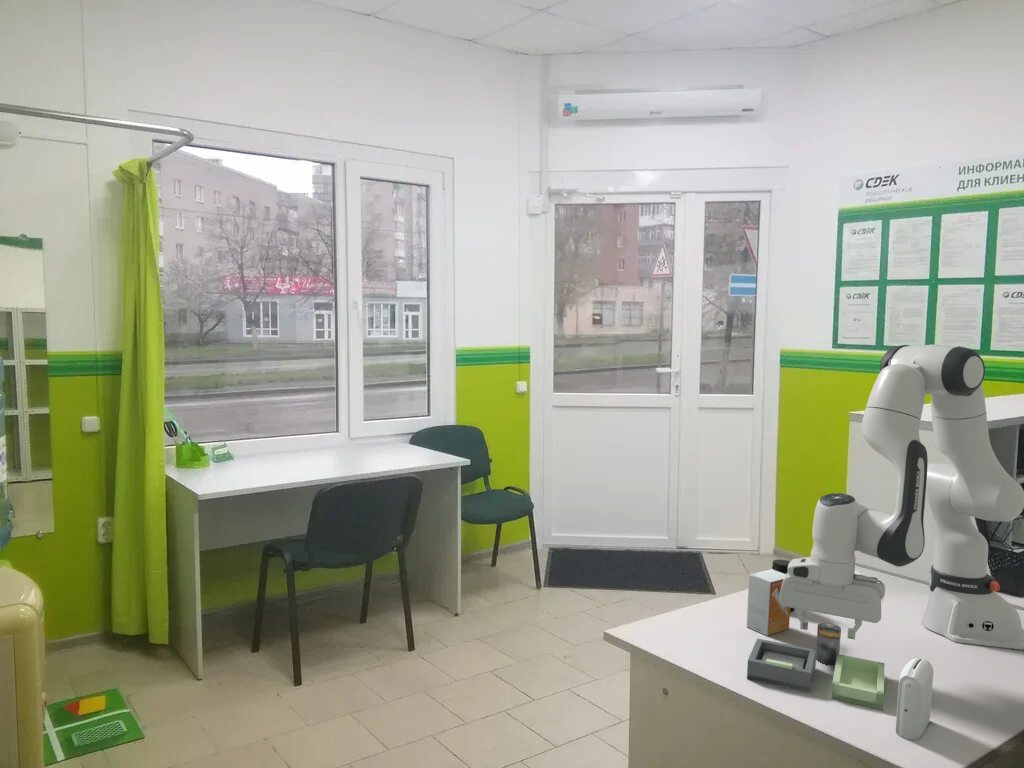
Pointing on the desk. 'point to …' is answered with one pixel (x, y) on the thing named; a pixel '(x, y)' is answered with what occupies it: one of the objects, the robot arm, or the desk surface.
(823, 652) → the grey cell
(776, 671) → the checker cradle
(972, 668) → the desk surface
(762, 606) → the small box
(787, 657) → the pan
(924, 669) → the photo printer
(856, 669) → the green trough
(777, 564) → the supplement bottle
